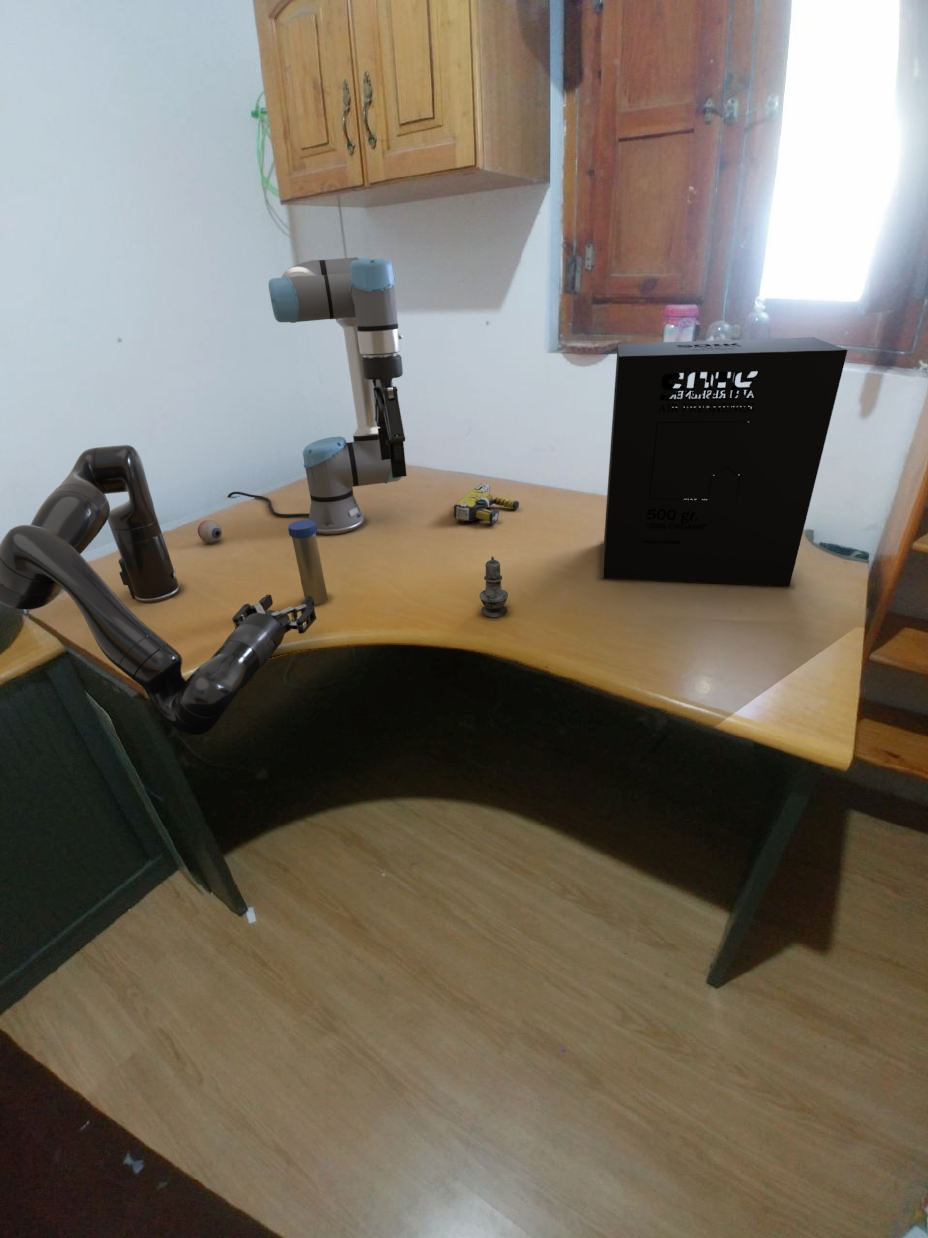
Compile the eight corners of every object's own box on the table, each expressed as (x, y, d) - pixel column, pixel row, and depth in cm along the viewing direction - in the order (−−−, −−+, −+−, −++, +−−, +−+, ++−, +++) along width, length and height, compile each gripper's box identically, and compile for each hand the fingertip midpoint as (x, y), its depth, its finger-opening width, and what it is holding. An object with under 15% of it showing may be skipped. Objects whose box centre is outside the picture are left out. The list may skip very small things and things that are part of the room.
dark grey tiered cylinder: (506, 618, 119) (505, 563, 113) (477, 616, 120) (474, 562, 114) (510, 604, 124) (509, 550, 118) (482, 602, 125) (480, 549, 119)
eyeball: (211, 547, 159) (205, 526, 156) (196, 543, 162) (190, 522, 159) (229, 539, 163) (224, 518, 160) (214, 536, 166) (209, 515, 164)
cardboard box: (767, 547, 142) (813, 337, 119) (789, 586, 125) (847, 349, 102) (603, 542, 149) (617, 343, 127) (603, 578, 132) (618, 356, 110)
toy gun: (527, 488, 179) (479, 481, 183) (505, 513, 159) (452, 504, 162) (525, 503, 181) (478, 496, 185) (503, 529, 161) (451, 520, 165)
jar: (321, 593, 133) (307, 520, 125) (331, 600, 130) (318, 526, 122) (301, 600, 131) (286, 526, 122) (312, 607, 128) (296, 532, 119)
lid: (309, 525, 126) (307, 517, 125) (322, 532, 122) (320, 524, 121) (284, 533, 123) (282, 524, 122) (297, 540, 119) (295, 531, 118)
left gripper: (220, 659, 108) (261, 614, 121) (294, 663, 105) (328, 617, 119) (209, 623, 104) (252, 581, 118) (286, 627, 102) (321, 583, 115)
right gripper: (414, 360, 103) (424, 482, 113) (389, 346, 124) (400, 450, 134) (370, 364, 101) (385, 487, 112) (353, 349, 122) (366, 454, 133)
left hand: (290, 599), depth 118 cm, fingers open, 8 cm apart
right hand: (393, 467), depth 123 cm, fingers open, 13 cm apart
